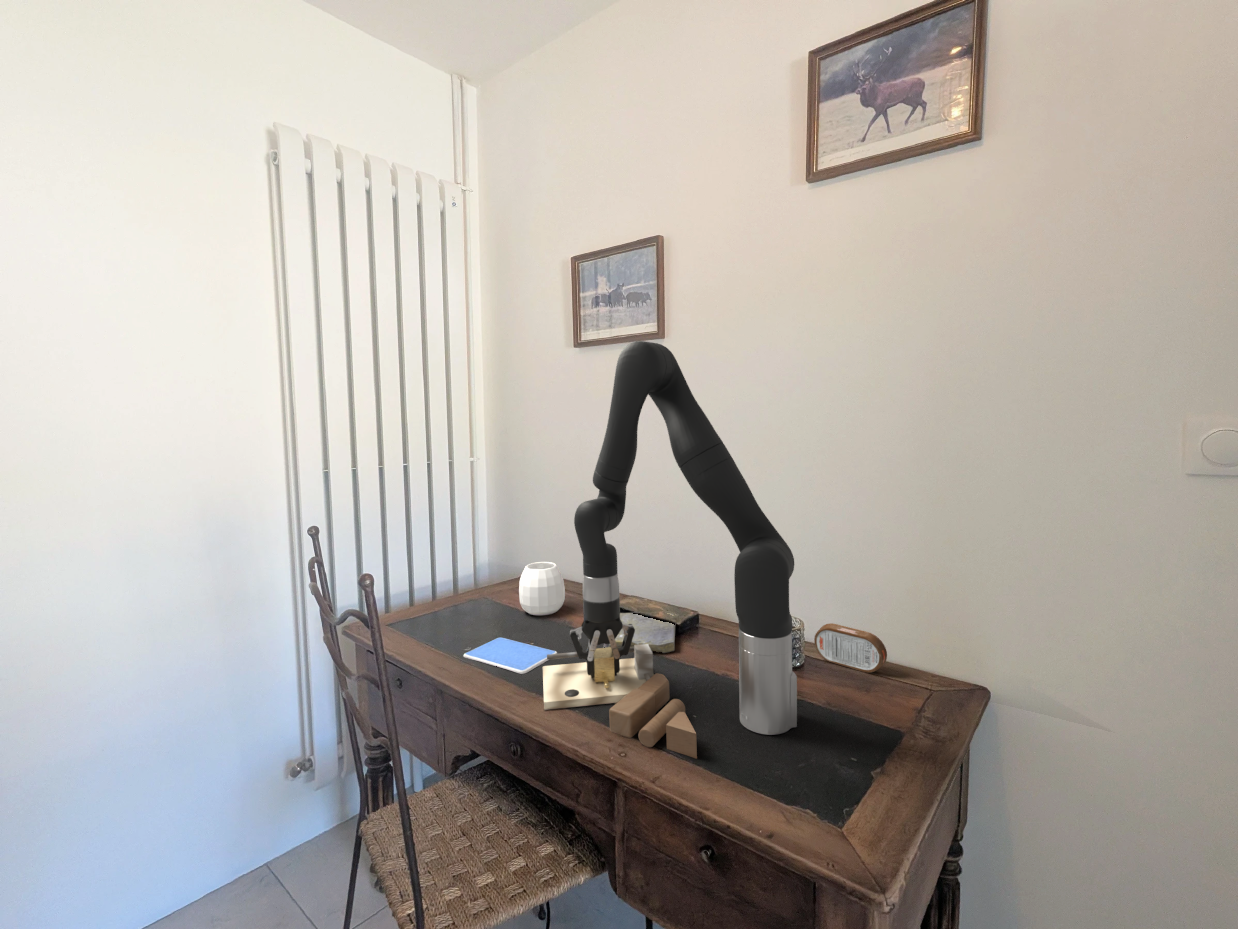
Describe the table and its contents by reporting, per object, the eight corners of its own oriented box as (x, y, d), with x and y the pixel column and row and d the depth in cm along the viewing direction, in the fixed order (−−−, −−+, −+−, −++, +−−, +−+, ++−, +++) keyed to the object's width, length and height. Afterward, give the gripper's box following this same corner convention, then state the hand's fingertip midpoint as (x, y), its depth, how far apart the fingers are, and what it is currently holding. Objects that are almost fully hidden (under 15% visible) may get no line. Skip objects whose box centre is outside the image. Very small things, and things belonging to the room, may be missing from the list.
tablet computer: (461, 658, 135) (461, 653, 135) (499, 640, 145) (499, 635, 145) (522, 677, 124) (522, 671, 124) (559, 656, 135) (559, 651, 135)
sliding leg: (611, 669, 121) (610, 647, 121) (617, 688, 113) (616, 664, 113) (592, 671, 121) (592, 648, 120) (597, 690, 112) (596, 666, 112)
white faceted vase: (563, 619, 158) (561, 571, 157) (515, 620, 158) (513, 572, 157) (567, 603, 171) (566, 559, 170) (524, 604, 171) (522, 560, 170)
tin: (887, 673, 120) (887, 635, 120) (882, 679, 118) (882, 639, 117) (818, 654, 131) (818, 618, 130) (812, 659, 128) (812, 622, 128)
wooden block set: (605, 705, 100) (654, 666, 115) (606, 736, 101) (655, 693, 116) (693, 731, 91) (734, 685, 106) (694, 765, 92) (734, 714, 107)
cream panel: (646, 663, 128) (645, 634, 128) (661, 698, 112) (660, 664, 112) (542, 672, 125) (541, 642, 124) (544, 709, 109) (542, 675, 109)
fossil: (601, 659, 134) (675, 656, 132) (600, 640, 134) (673, 636, 132) (612, 629, 154) (676, 626, 152) (610, 613, 154) (674, 609, 152)
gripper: (567, 603, 112) (570, 687, 114) (638, 598, 114) (640, 680, 116) (565, 591, 120) (568, 670, 121) (632, 587, 122) (634, 664, 123)
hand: (603, 675), depth 119 cm, fingers closed on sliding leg, 4 cm apart
